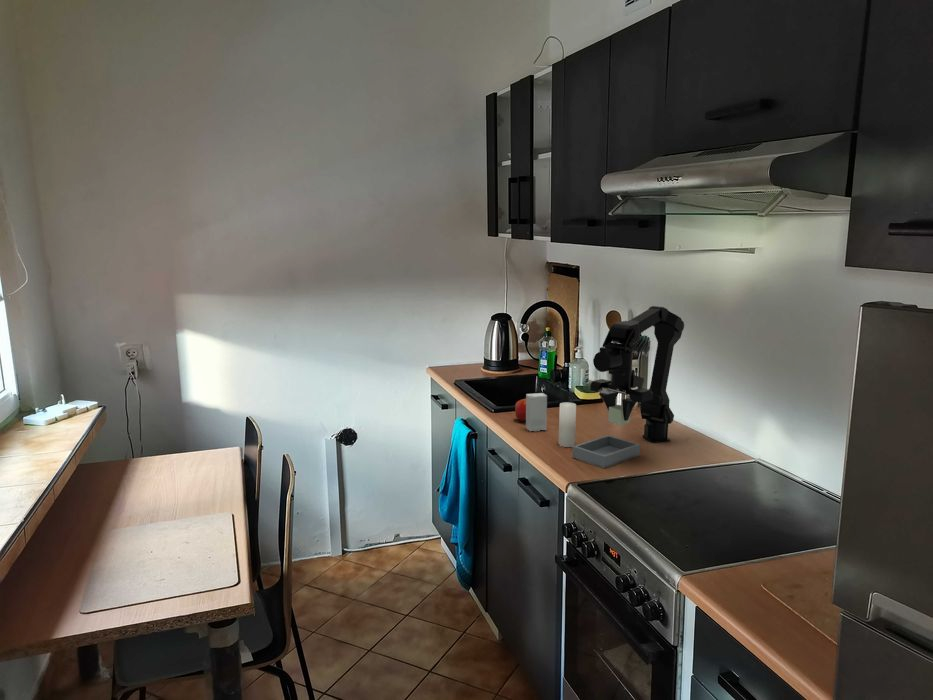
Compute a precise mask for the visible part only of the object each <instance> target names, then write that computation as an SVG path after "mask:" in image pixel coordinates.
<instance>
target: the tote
mask: <svg viewBox="0 0 933 700" xmlns="http://www.w3.org/2000/svg"><path fill="white" fill-rule="evenodd" d="M640 451H641V444H640V443H637V442H633V441H630V440H626V439H623V438H619V437H616V436H613V435H610V434H608V435H603V436H601V437H598V438H595V439H592V440H589V441H588V440H587V441H585V442H582V443H578V444H575V446H573V447H572V455H571V456H572V457H573V458H572V457H571V458H572V459H574V458H576V459H575V460H577V459H578V460H577V461H580V460H581V462H583V461H584V463H586V462H587V464H589V465H592V466H595V467H598V468H601V469H608V468H610V467H612V466H615V465H618V464H620V463H621V464H622V463H623V462H626V461H629V460H631V459H634V458H637V457H639V456H640V453H641V452H640Z"/></svg>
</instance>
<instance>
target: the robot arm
mask: <svg viewBox="0 0 933 700" xmlns="http://www.w3.org/2000/svg"><path fill="white" fill-rule="evenodd" d="M651 327H653V328H654V331H653V332H654V333H653V334H654V337H655V339H656V342H657V346H656V351H655V352H656V353H655V357H654V364H653V368H652V374H651V379H650V386H649V388H644V387H643V386H644V382H645V378H644V377H642V376H639V375H636V372H635V369H633V353H634V351H637V350H638V349H637V347H636V346H635V345H634V344H635V343H636V342H637V341H638V340H639V339H640V337H641V336H640V335H641V334H642V333H643V332H645V331H646V330H648V329H650V328H651ZM684 328H685V322H684V321H683V320H682V317H680V316H678V315H677V314H675V313H673V312H672V311H670V310H669V309H668V308H666V307H664V306H658V305H657V306H656V305H652V306H649V307H648V309H646V310H645V311H643V312H642V313H640V314H638V315H636V316H634V317H633V318H631V319H629V320H623V321H617V322H614V323H613V324H612V325H611V327H610V328H609V330H608V332H607V335H606V336H605V338H604V341H603V343H602V346H601V347H599V351H598V352H597V353H596V354H595V355H594V357H593V360H592V361H593V363H592V364H593V366H594V368H595V370H597V371H598V372H600V373H605V372H608V375H609V374H610V375H611V377H610V380H607V379H603V378H599V379H597V380H592V381H591V383H590V384H589V391H592V392H596V393H598V392H599V391H600V392H599V393H598V396H599V397H601V399H602V400H603V402H604V404H605V407H606V409H607V411H608V412H609V407H611V406H615V405H617V404H616V402H617V401H616V400H617V397H618V394H622V395H625V396H626V398H623V399H622V406H623V415H624V420H625V421H627V420H628V418H629V416H630V414H631V415H632V410H633V409H634V407H635V405H636V404H637V403H639V410H640V414H641V415H640V417H641V419H642V420H645V424H644V425H643V434H642V437H643V438H644V439H646V440H647V441H649V442H650V443H661V442H670V441H671V438H669V437H668V434H669V424H672V422H673V421H674V417H675V414H674V413H673V411H672V409H671V407H670V398H669V394H668V392H667V386H668V380H669V374H670V369H671V365H672V358H673V352H674V347H675V345H676V344H677V343H678V341H679V340H680V339H681V338H682V334H683V331H684Z"/></svg>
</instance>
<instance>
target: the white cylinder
mask: <svg viewBox="0 0 933 700" xmlns="http://www.w3.org/2000/svg"><path fill="white" fill-rule="evenodd" d="M558 415H559V417H558V444H559V445H560V446H563V447H562V448H564V447H572V448H573V446H576V424H577V421H576V420H577V404H576V403H574V402H567V401H566V402H560V403H559V414H558ZM559 445H558V446H559ZM560 446H559V447H560Z"/></svg>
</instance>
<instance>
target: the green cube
mask: <svg viewBox="0 0 933 700" xmlns="http://www.w3.org/2000/svg"><path fill="white" fill-rule="evenodd" d="M631 415H632V413H631V414H630V416H629V418H628V420H627V421H625V420H624V415H623V404H615V406H611V407H609V411H608V419H607V420H608V423H611V424H615V425H617V426H624V425H627V424H630V423H631Z"/></svg>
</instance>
